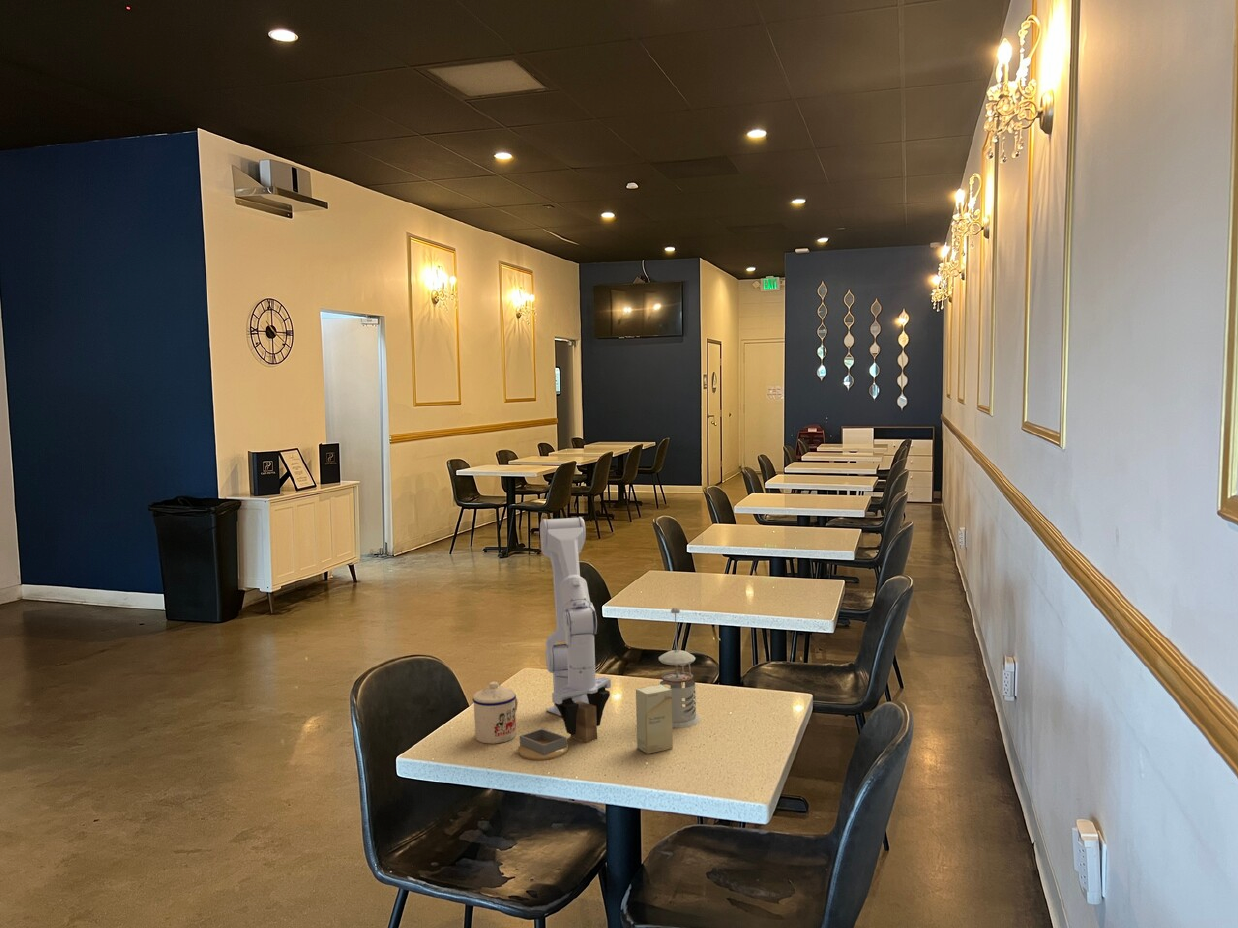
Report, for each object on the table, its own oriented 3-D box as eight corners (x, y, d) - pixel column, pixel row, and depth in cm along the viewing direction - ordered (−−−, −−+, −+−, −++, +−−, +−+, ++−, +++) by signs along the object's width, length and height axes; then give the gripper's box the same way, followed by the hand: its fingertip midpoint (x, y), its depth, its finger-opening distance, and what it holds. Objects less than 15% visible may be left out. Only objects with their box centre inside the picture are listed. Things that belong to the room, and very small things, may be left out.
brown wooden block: (581, 733, 191) (580, 700, 190) (597, 738, 187) (596, 706, 187) (570, 736, 189) (569, 704, 188) (586, 742, 185) (585, 709, 185)
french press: (649, 724, 194) (646, 610, 193) (667, 707, 205) (664, 599, 203) (693, 729, 191) (690, 613, 189) (708, 711, 201) (705, 601, 200)
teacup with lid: (499, 747, 184) (497, 691, 183) (465, 740, 189) (462, 685, 188) (533, 728, 194) (531, 675, 194) (500, 722, 199) (498, 670, 198)
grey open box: (547, 737, 189) (546, 724, 189) (578, 749, 181) (577, 735, 181) (508, 750, 182) (508, 737, 182) (539, 764, 175) (538, 749, 174)
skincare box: (647, 754, 178) (645, 694, 177) (636, 747, 182) (634, 688, 181) (674, 748, 181) (672, 689, 180) (663, 741, 184) (661, 683, 184)
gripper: (567, 676, 179) (569, 743, 180) (619, 660, 189) (621, 724, 190) (544, 669, 184) (547, 734, 185) (597, 654, 194) (599, 716, 195)
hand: (583, 728), depth 188 cm, fingers open, 6 cm apart
